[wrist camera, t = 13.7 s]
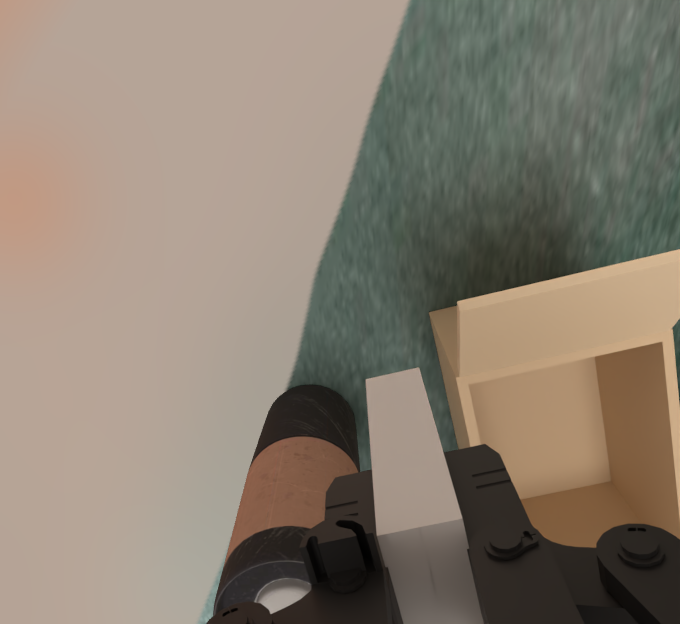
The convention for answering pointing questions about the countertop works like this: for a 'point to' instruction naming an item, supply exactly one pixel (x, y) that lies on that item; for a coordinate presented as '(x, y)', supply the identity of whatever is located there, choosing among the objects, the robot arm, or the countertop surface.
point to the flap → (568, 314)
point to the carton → (577, 432)
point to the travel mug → (287, 496)
